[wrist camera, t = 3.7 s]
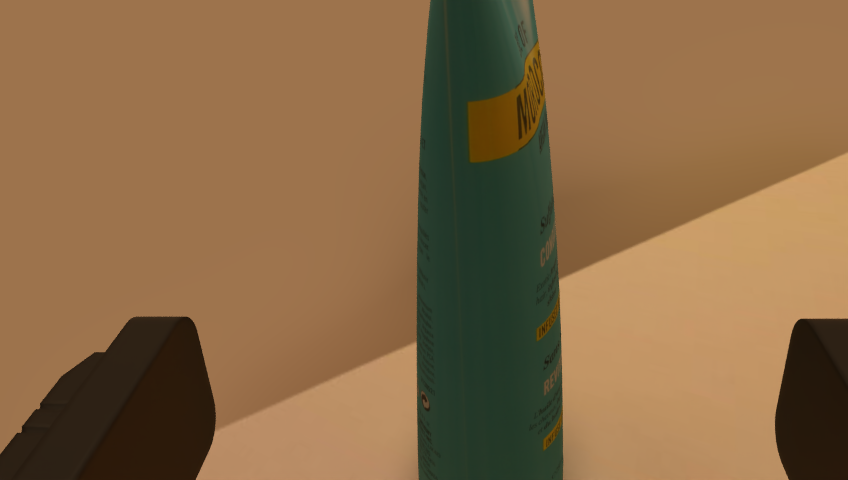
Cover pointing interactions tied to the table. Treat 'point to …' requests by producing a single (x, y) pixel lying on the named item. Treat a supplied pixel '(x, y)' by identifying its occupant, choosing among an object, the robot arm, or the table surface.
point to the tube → (486, 251)
